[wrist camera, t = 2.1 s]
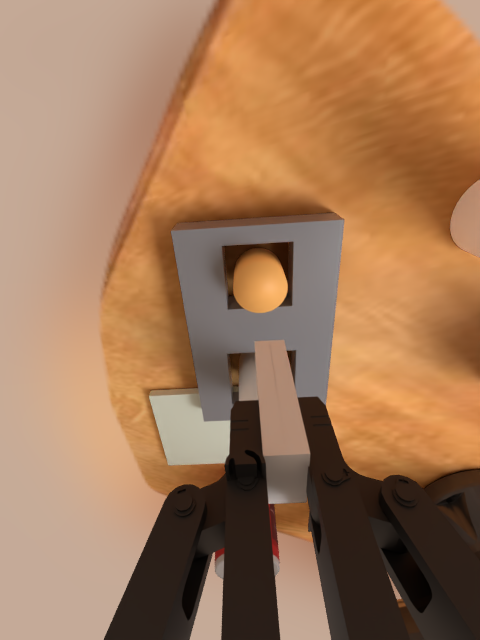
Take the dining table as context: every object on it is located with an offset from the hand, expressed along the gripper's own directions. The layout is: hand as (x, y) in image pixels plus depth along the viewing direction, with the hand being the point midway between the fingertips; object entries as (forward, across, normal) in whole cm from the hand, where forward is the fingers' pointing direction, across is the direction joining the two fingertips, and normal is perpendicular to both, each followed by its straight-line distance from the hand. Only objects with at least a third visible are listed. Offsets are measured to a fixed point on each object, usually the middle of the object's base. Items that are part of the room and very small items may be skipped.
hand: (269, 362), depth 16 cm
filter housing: (+15, 0, +7) cm, 17 cm away
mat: (+15, +7, +22) cm, 28 cm away
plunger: (+14, 0, 0) cm, 14 cm away
